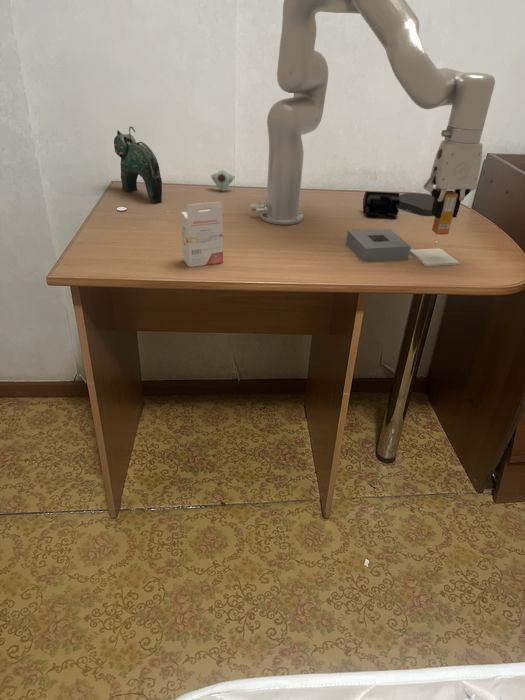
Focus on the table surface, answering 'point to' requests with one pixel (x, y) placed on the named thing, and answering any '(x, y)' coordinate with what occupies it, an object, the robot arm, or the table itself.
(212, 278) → the table surface
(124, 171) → the ceramic cat
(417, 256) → the rubber mat
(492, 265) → the table surface
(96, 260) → the table surface
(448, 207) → the supplement box
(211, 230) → the ink cartridge box
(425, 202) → the media streaming box
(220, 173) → the valved respirator
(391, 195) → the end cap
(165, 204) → the table surface
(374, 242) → the pocket block
